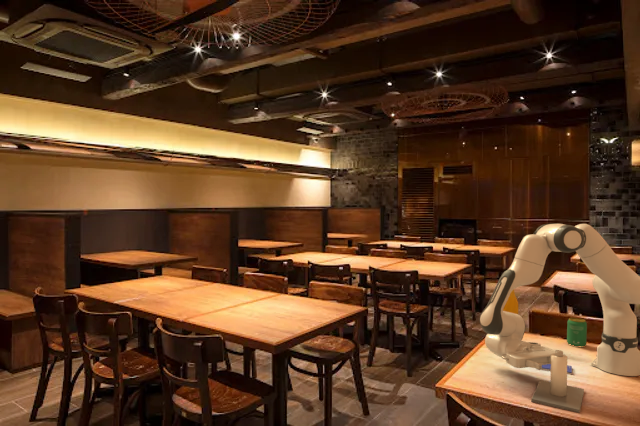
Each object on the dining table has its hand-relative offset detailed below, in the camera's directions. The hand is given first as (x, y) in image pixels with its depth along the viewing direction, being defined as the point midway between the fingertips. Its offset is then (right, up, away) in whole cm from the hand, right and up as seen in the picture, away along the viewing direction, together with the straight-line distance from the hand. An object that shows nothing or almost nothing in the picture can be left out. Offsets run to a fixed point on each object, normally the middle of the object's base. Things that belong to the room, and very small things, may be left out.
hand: (550, 365), depth 160 cm
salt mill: (+1, -9, -3) cm, 9 cm away
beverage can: (+40, -9, +56) cm, 70 cm away
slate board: (+1, -10, -3) cm, 10 cm away
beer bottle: (+10, -9, +61) cm, 62 cm away
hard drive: (+14, -10, +24) cm, 29 cm away
